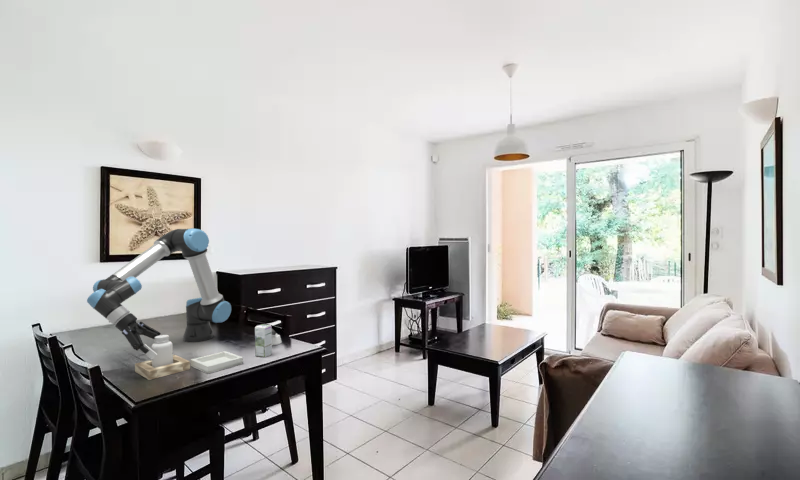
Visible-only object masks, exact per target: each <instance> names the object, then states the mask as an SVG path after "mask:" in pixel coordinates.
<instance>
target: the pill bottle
mask: <svg viewBox="0 0 800 480" xmlns="http://www.w3.org/2000/svg"><path fill="white" fill-rule="evenodd" d="M154 340H155V341H154V343H152V345H151V347H150V348H151V349H152V350H153V351H154V352H155V353H157V355H156V356H155V357H154V358H153V359H151V360H152V367H153V368H156V367H160V366H164V365H169V364H173V355H174V350H173V349H174V346H173V342H172V341H170V336H169V335H168V334H160V335H159V336H156V337H155V339H154Z"/></svg>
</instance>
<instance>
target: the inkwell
mask: <svg viewBox="0 0 800 480" xmlns="http://www.w3.org/2000/svg"><path fill="white" fill-rule="evenodd" d="M282 343H283V341H282V338H281V335H280V334H278V333H277V332H276V331H275V330H274V329H273V328H272V346H277V345H280V344H282Z"/></svg>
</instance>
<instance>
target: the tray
mask: <svg viewBox="0 0 800 480" xmlns="http://www.w3.org/2000/svg"><path fill="white" fill-rule="evenodd" d="M240 365H244V357H243V356H241V355H238V354H235V353H232V352H229V351H226V350H225V351H224V350H223V351H221V352H215V353H212V354H207V355H204V356H200V357H195V358H191V359H190V368H191V367H192V368H194V369H197V370H199V371H200V372H203V373H205V374H207V375H208V374H211V373H215V372H219V371H222V370H223V371H224V370H226V369H231V368H234V367H237V366H240Z"/></svg>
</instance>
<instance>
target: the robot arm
mask: <svg viewBox="0 0 800 480" xmlns="http://www.w3.org/2000/svg"><path fill="white" fill-rule="evenodd" d="M209 243H210V239H209V236H208V235H207V233H206V232H205V231H204V230H202V229H200V228H193V227H192V228H175V229H172V230H170V231H168V232H166V233H165V234H164V235H162V236H160V237H159V238H158V239H156V240H155V241H153V245H152V246H150V247H149V248H147V249H146V250H144V251H143V252H141V253H140V254H139V255H138V256H136V257H135V258H134V259H132V260H130V261H129V262H127V263H126V264H125V265H123V266H122V267H120V268H119V269H118V270H116V271H115V272H114V273H112V274H111V275H110V276H108V277H106V278H104V279H99V280H96V282H94V284H93V287H92V291H93V293H91V294H90V295H89V296H88V297H87V298H86V303H88V305H89V306H90V307H91V308H92V309H93V310H95V311H96V312H97V313H99V314H100V315H101V316H103V318H105V319H106V320H107V321H108V323H111V324H112V325H113V326H115V328H116V329H118V331H120V332H121V334H122V335H123V336H124V337H125V339H126V341H128V343H129V344H130V346H131V348H132V349H134V350H135V351H137V352H138V351H141V352H142V353H143V354H144V355H145V356H147V357H148V358H149V359H150V360H152V359H153V358H154V357H155V356H156V355H157V353H155V352H154V351H153V350H152V349H151V347H150V346H148V345H147V344H146V343H144V342H143V340H142V337H141V336H145V337H146V338H147V337H148V338H150V339H153V341H154V342H155V337H156V336H160V335H162V334H161V332H160V331H158V330H156V329H154V328H152V327H150V326H149V325H147V324H145V323H144V322H143V321H139V322H137V320H138V318H137V316H135V314H133V313H132V312H131V313H130V311H129V309H127V307H125V306H124V305H123V304H122V303H124V302H126V301H127V300H128V299H129V298H131V297H132V296H135V295H136V294H137V293H138V292H139V291H141V290H142V287H143V285H142V283H141V281H140V280H139V279H138V278H137V277H139V276H140V275H142V274H143V273H144V272H145V271H147V270H148V269H149V268H151V267H152V266H154V265H155V264H156V263H157V262H159V261H160V260H161V259H163V258H164V257H169V256H170V255H172V254H173V253H175V252H181V254H182V257H183V258H184V259H187V260H188V263H189V266H190V269H191V272H192V275H193V278H194V279H195V284H196V286H197V288H198V291H199V294H200V297H196V298H190V299H188V300H187V299H186V300H187V301H186V305H185V312H186V313H185V315H186V318H185V319H186V327H185V331H184V333H183V336H182V337H183V338H182V339H183V341H184V342H188V343H189V342H190V343H194V342H203V341H207V340H212V339H213V338H214V332H213V328H212V326H211V323H215V324H217V323H223V322H225V321H227V320H228V319H229V317H230V315H231V313H232V305H231V303H230V302H229V301H226V300H225V298H224V295H223V294H221V293H220V292H219V291H218V287H217V284H216V281H215V278H214V276H213V272H212V270H211V267H210V264H209V260H208V258H207V253H208V247H209ZM210 322H211V323H210Z"/></svg>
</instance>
